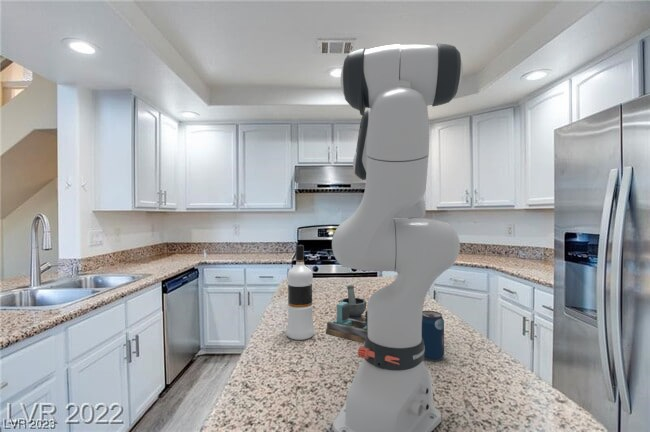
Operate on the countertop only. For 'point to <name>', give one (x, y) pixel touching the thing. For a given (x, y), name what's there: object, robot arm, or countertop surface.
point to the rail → (350, 329)
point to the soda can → (433, 335)
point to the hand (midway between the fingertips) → (394, 231)
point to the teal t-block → (343, 314)
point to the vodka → (300, 299)
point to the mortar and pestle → (354, 304)
